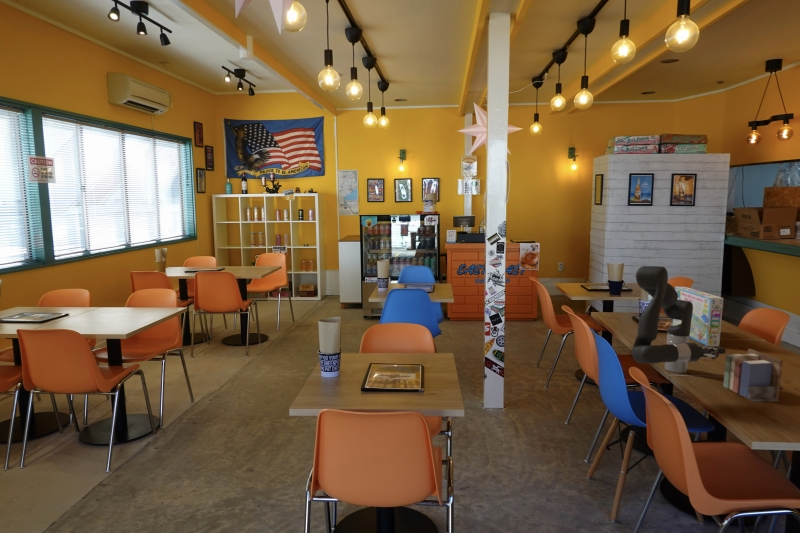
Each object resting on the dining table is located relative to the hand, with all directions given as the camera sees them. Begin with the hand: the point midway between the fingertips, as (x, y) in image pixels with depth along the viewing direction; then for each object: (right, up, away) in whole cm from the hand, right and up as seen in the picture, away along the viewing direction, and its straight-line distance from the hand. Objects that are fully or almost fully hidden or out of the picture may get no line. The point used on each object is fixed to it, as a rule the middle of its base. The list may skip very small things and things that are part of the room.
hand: (724, 350), depth 213 cm
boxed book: (+14, -19, +2) cm, 24 cm away
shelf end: (+14, -18, +5) cm, 24 cm away
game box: (+41, -8, +95) cm, 104 cm away
